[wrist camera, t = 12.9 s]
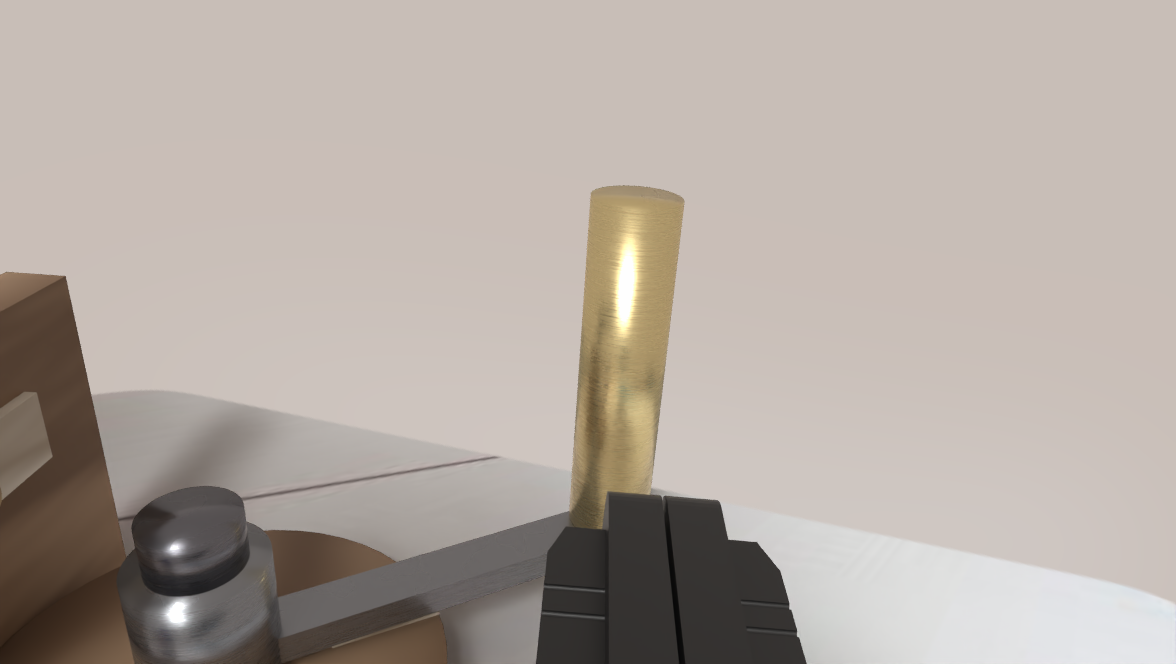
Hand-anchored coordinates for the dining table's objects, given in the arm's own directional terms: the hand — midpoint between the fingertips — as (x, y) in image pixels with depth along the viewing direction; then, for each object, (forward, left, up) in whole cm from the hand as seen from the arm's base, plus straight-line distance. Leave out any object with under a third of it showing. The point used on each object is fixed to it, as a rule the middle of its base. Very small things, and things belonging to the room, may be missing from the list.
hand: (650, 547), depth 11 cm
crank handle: (-6, +13, -14) cm, 20 cm away
